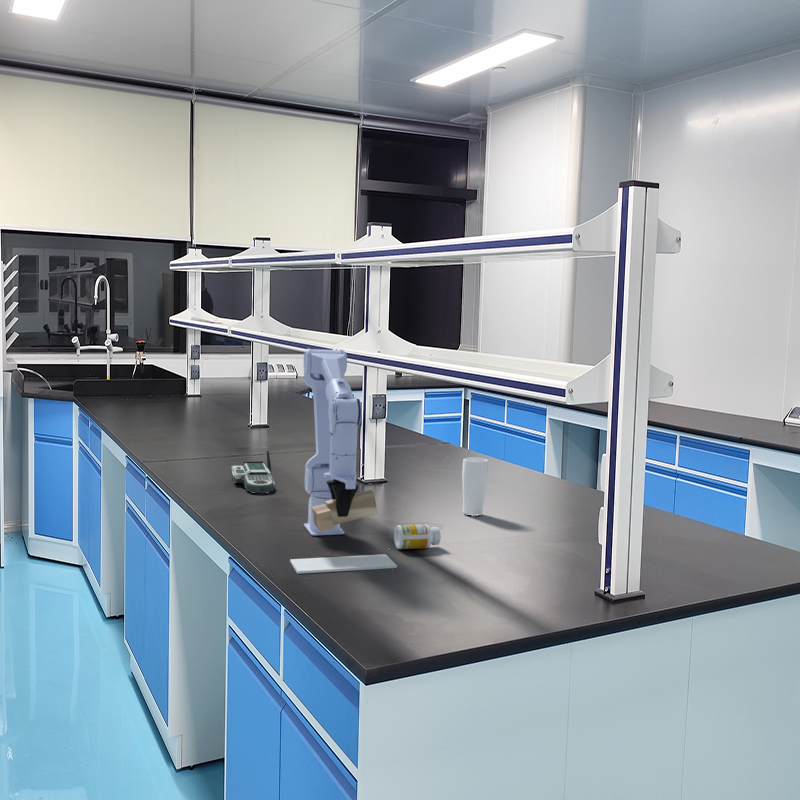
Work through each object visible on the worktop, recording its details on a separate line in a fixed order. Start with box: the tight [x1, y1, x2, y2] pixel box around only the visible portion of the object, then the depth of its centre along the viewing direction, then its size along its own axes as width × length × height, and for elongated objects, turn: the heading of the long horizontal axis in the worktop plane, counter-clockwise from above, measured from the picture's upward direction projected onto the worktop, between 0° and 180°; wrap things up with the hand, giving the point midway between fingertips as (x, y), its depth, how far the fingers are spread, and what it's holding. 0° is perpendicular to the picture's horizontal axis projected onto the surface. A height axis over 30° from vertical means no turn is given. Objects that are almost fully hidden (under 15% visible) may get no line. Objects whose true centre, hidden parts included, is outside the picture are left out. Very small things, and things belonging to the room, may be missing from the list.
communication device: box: [230, 450, 276, 493], centre depth 241 cm, size 12×24×9 cm, turn 17°
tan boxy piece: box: [311, 489, 378, 531], centre depth 178 cm, size 6×14×5 cm, turn 109°
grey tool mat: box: [289, 554, 398, 575], centre depth 169 cm, size 8×21×1 cm, turn 108°
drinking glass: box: [461, 456, 489, 515], centre depth 217 cm, size 7×7×15 cm
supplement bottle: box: [393, 524, 442, 550], centre depth 184 cm, size 5×5×10 cm
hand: (341, 514), depth 178 cm, fingers closed on tan boxy piece, 2 cm apart
